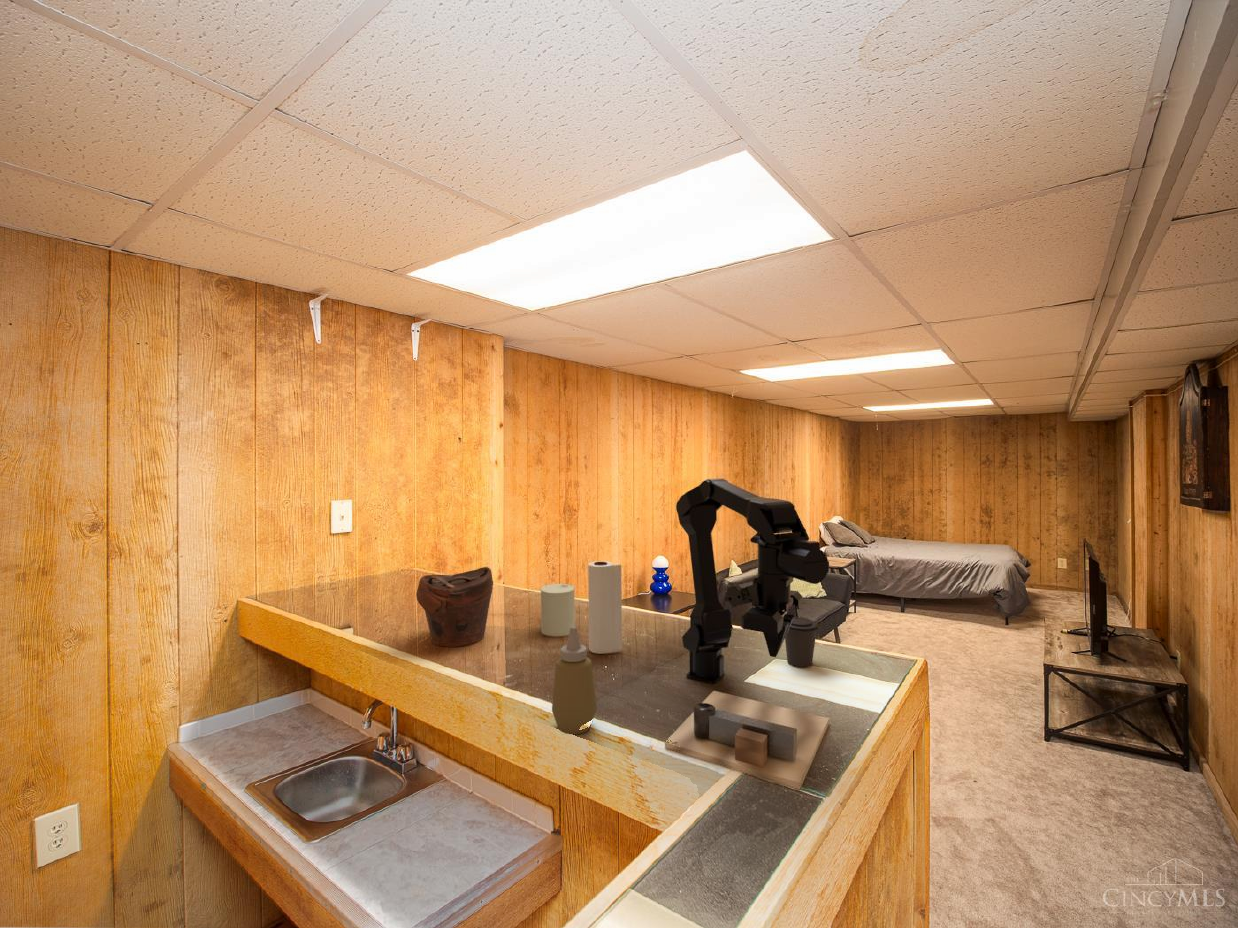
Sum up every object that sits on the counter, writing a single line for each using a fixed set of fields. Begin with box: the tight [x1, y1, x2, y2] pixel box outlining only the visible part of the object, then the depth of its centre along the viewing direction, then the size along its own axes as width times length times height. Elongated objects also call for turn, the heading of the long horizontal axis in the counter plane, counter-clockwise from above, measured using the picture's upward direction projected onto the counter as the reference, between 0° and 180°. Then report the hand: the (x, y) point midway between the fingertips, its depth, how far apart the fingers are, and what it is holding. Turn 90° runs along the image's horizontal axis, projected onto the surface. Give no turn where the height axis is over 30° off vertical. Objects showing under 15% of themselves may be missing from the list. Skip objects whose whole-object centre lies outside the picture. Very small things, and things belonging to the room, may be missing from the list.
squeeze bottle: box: [551, 626, 597, 735], centre depth 101 cm, size 8×8×18 cm
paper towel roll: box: [587, 560, 623, 655], centre depth 137 cm, size 7×6×21 cm
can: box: [540, 583, 576, 638], centre depth 151 cm, size 9×9×12 cm
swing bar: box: [693, 702, 797, 761], centre depth 93 cm, size 17×4×4 cm, turn 61°
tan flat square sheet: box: [664, 690, 830, 790], centre depth 98 cm, size 22×22×1 cm
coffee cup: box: [784, 617, 820, 669], centre depth 129 cm, size 8×8×10 cm
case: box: [415, 566, 494, 648], centre depth 145 cm, size 18×20×18 cm
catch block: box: [735, 728, 767, 768], centre depth 89 cm, size 4×2×4 cm, turn 59°
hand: (773, 656), depth 102 cm, fingers closed
